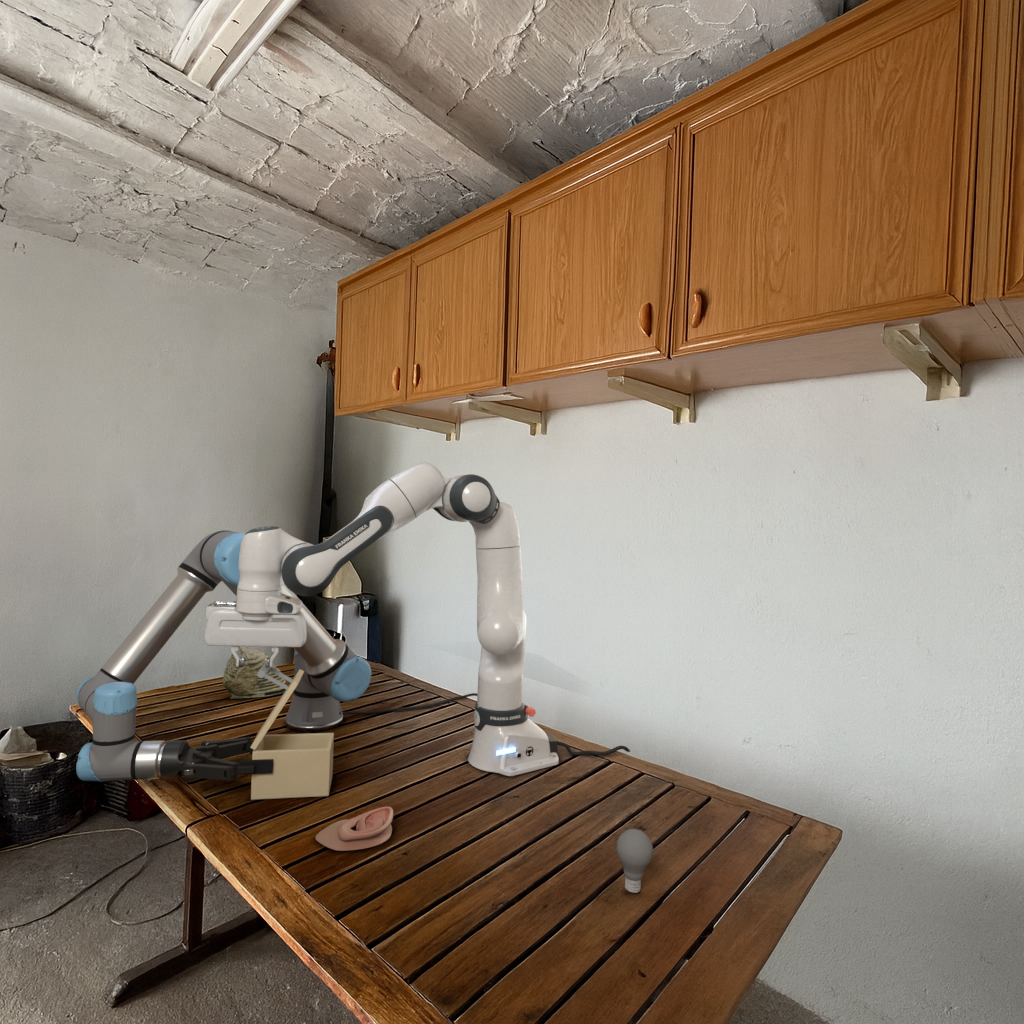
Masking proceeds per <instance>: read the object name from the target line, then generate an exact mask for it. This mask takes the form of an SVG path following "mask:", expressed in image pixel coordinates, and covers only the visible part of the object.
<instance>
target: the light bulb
mask: <svg viewBox="0 0 1024 1024" xmlns="http://www.w3.org/2000/svg"><path fill="white" fill-rule="evenodd" d="M615 849H616V854H617V857H618V859H619V861H620V863H621V865H622V867H623V873H624V874H623V875H624V876H625V878H624V888H625V890H627V891H628V892H630V893H634V894H635V893H639V892H640V891H641V889H642V887H641V886H642V879H643V877H644V875H645V871H646V868H647V867H648V866H649V864H650V863H651V861H652V859H653V855H654V847H653V843H652V841H651V838H649V836H648V835H647V834H646V833H645V832H643V831H642V830H641V829H636V828H629V829H627V830H625V831H623V832H622V833H621V834H620V835H619V837H618V839H617V841H616V847H615Z"/></svg>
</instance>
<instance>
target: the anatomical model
mask: <svg viewBox="0 0 1024 1024" xmlns="http://www.w3.org/2000/svg"><path fill="white" fill-rule="evenodd" d="M393 819H394V809H393V808H392V807H391V806H382V807H378V808H375V809H372V810H368V811H365V812H363V813H361V814H358V815H357V816H354V817H351V818H348V819H341V820H338V821H336V822H334V823H331V824H330V825H328V826H326V827H324V828H323V829H321V830H320V831H319V832H318V833H317V834H316V835H315V840H316V841H317V842H318V843H319V844H320V845H322V846H324V847H326V848H328V849H330V850H333V851H336V852H347V851H357V850H364V849H369V848H372V847H376V846H379V845H382V844H383V843H385V842H387V841H388V840H389V839H390V838H391V836H392V832H393V826H392V822H393Z"/></svg>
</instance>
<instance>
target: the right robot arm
mask: <svg viewBox="0 0 1024 1024" xmlns="http://www.w3.org/2000/svg"><path fill="white" fill-rule="evenodd" d="M431 509H433V510H434V511H435V512H436V513H437V514H439V515H440V517H442V518H443V519H446V520H448V521H452V522H460V523H466V522H468V524H470V525H471V527H472V529H473V531H474V536H475V557H476V558H475V559H476V574H477V575H476V576H477V589H476V590H477V591H476V592H477V593H476V633H477V639H478V642H479V644H480V646H481V648H480V657H479V665H478V671H477V672H478V674H477V676H478V677H477V696H476V697H477V698H476V702H475V704H474V713H473V720H474V721H473V722H474V723H473V724H474V733H473V739H472V743H471V747H470V751H469V754H468V757H467V762H468V763H469V764H470V765H471V766H472V767H473V768H475V769H478V770H480V771H484V772H487V773H488V772H489V773H496V774H500V775H503V776H506V777H515V776H519V775H523V774H526V773H531V772H535V771H537V770H542V769H546V768H550V767H553V766H558V765H559V763H560V759H559V755H558V754H557V753H558V747H559V746H561V747H564V748H565V749H566V751H567V753H568V754H569V755H571V756H576V757H577V756H583V755H593V756H607V755H608V756H609V755H610V754H614V753H615V752H617V751H619V750H623V751H625V752H626V753H630V752H631V749H630V748H628V747H627V746H625V745H618V746H615V747H613V748H611V749H609V750H604V751H598V750H597V751H596V750H579V751H573V750H572V749H571V747H570V745H568V744H567V743H565V742H562V741H559V740H557V738H555V736H554V735H553V734H552V733H551V732H550V733H549V732H548V733H546V732H545V730H544V729H542V728H541V727H540V726H539V725H538V724H536V722H534V721H533V720H531V719H530V718H534V717H535V715H536V713H537V712H536V709H535V708H533V707H532V706H529V705H528V704H526V703H524V702H523V687H524V684H523V683H524V667H525V656H526V655H525V654H526V641H527V640H526V639H527V637H526V636H527V623H528V622H527V614H526V611H525V610H524V605H523V603H524V602H523V601H524V600H523V563H522V547H521V536H520V527H519V523H518V518H517V515H516V511H515V509H514V507H512V505H510V504H508V503H506V502H503V501H500V499H499V498H498V496H497V494H496V493H495V490H494V488H493V486H492V485H491V483H490V482H489V481H488V480H487V479H486V478H485V477H483V476H480V475H479V474H473V473H472V474H460V475H457V476H454V477H450V478H447V477H445V476H444V475H443V474H442V472H441V471H440V469H439V468H438V467H436V466H435V464H434V465H433V464H432V463H429V462H424V461H423V462H419V463H417V464H414V465H412V466H410V467H407V468H405V469H404V470H401V471H399V472H398V473H396V474H394V475H393V476H391V477H389V478H388V479H387V480H385V481H383V482H382V483H381V484H379V485H378V486H377V487H376V488H374V489H373V490H372V491H371V492H370V493H369V494H368V495H367V496H366V497H365V499H364V502H363V505H362V507H361V510H360V512H359V514H358V515H357V516H356V517H355V518H354V519H353V520H352V521H351V522H349V523H348V524H347V525H345V526H344V527H342V528H341V529H339V530H338V531H337V532H336V533H334V534H333V535H331V536H330V537H328V538H327V539H325V540H324V541H322V542H320V543H318V544H313V543H310V542H307V541H304V540H302V539H299V538H297V537H295V536H292V535H291V534H290V533H288V532H286V531H285V530H284V529H283V528H281V527H280V526H274V525H273V526H262V527H261V526H260V527H256V528H251V529H250V530H248V531H246V532H245V533H246V534H245V535H244V536H243V538H242V541H241V546H240V553H239V565H238V569H239V573H240V580H239V583H238V586H237V596H236V600H235V601H233V600H230V601H229V600H227V601H223V600H214V601H213V602H211V603H209V604H208V605H207V606H206V608H205V619H206V621H207V622H206V625H205V631H204V637H203V638H204V639H203V641H204V643H205V644H206V645H207V646H210V647H230V648H231V649H230V651H231V654H232V653H233V655H234V657H235V659H236V667H244V666H245V657H241V655H240V653H239V651H238V650H239V649H240V647H257V648H260V647H261V648H262V647H263V648H264V647H266V648H271V652H272V655H271V656H269V658H267V659H266V661H265V663H266V664H265V667H273V665H274V663H275V658H276V656H277V655H278V654H279V652H280V650H281V648H293V647H302V646H303V645H304V644H305V642H306V637H307V630H306V619H305V616H304V614H303V613H302V612H301V611H300V610H301V609H302V603H303V601H302V600H301V599H300V598H299V599H297V598H294V597H291V596H288V595H285V594H282V593H281V588H282V585H283V584H285V585H286V587H287V588H288V589H289V590H290V591H292V592H293V593H294V594H295V595H296V596H302V597H311V596H316V595H319V594H321V593H322V592H324V591H325V590H327V588H329V586H330V585H331V583H332V582H333V580H334V578H335V577H336V576H337V574H338V572H339V571H340V570H341V568H343V566H345V565H346V564H347V563H348V562H350V561H351V560H352V559H354V558H356V556H358V555H359V554H360V553H362V552H363V551H365V550H366V549H367V548H368V547H370V546H371V545H372V544H374V543H376V541H378V540H381V539H382V538H384V537H385V536H387V535H390V534H391V533H393V532H395V531H398V530H400V529H401V528H403V527H405V526H407V525H408V524H410V523H411V522H412V521H414V520H416V519H417V518H418V517H420V516H421V515H422V514H424V513H426V512H427V511H429V510H431ZM529 717H530V718H529Z"/></svg>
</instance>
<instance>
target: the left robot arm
mask: <svg viewBox="0 0 1024 1024" xmlns="http://www.w3.org/2000/svg"><path fill="white" fill-rule="evenodd" d="M246 533H247V532H240V531H239V532H238V531H232V530H229V529H228V530H227V529H224V530H217V531H214V532H211V533H210V534H207V535H205V536H204V537H203V538H202V539H201V540H200V541H198V543H197V544H196V545H195V546H194V547H193V549H192V550H191V551H190V552H189V553H188V554H187V556H186V557H185V558H184V560H182V561H181V563H180V564H179V565H178V567H177V568H176V569H177V575H176V577H174V579H173V580H172V581H171V582H170V584H169V585H168V586H167V588H165V590H164V591H163V592H162V594H161V595H160V596H159V597H158V598H157V599H156V601H155V602H154V603H153V604H152V606H151V607H150V608H149V609H148V610H147V611H146V613H145V614H144V616H143V617H142V618H141V619H140V620H139V622H138V623H137V624H136V625H135V627H134V628H133V629H132V630H131V632H129V634H128V635H127V636H126V638H125V639H124V640H123V641H122V642H121V644H120V645H119V646H118V647H117V649H116V650H115V651H114V652H113V653H112V655H111V656H110V657H109V658H108V660H107V661H106V662H105V663H104V665H103V666H102V667H101V668H100V669H99V670H98V671H97V672H96V673H95V675H93V676H90V677H88V678H86V679H85V680H84V681H82V682H81V683H80V685H79V686H78V687H77V690H76V695H75V696H76V701H77V705H78V706H79V707H80V708H79V709H81V710H82V711H83V712H84V713H86V715H87V716H88V717H89V719H90V720H91V721H92V741H91V742H88V743H85V744H84V745H83V746H82V748H81V749H80V751H79V753H78V754H77V755H78V756H77V761H76V766H75V770H76V771H75V772H76V775H77V777H78V779H79V780H81V781H84V782H101V783H104V782H105V783H106V782H119V781H121V782H122V781H142V780H145V781H146V782H150V781H152V780H159V779H160V778H162V779H163V780H177V779H203V780H216V781H217V780H218V781H236V780H238V779H239V776H240V775H241V776H242V775H252V774H271V773H273V759H261V760H252V759H240V760H239V762H237V761H232V760H227V759H225V758H229V757H230V758H231V757H235V756H238V755H239V756H240V755H245V754H249V755H251V756H252V752H253V750H254V749H252V748H250V747H251V745H252V743H253V742H254V740H252V736H244V737H235V738H227V739H218V740H202V741H201V742H200V745H199V746H196V747H190V746H189V744H190V743H189V742H188V741H187V740H186V739H179V740H174V739H173V740H168V741H166V740H141V741H138V740H136V724H137V723H136V722H137V708H138V707H137V706H138V701H139V700H138V695H137V694H138V693H137V685H135V683H136V681H138V679H139V678H140V677H141V676H142V674H143V672H144V671H146V669H147V668H148V666H149V665H150V664H151V662H152V661H153V660H154V659H155V658H156V656H157V655H158V654H159V652H160V651H161V650H162V649H163V647H164V646H165V645H166V644H167V642H168V641H169V640H170V638H171V637H172V636H173V635H174V634H175V632H176V631H177V630H178V628H179V627H180V626H181V625H182V624H183V622H185V619H186V618H187V617H188V616H189V615H190V613H192V611H193V610H194V609H195V607H196V606H197V604H198V603H199V602H200V601H201V599H202V598H203V597H204V596H205V594H206V593H209V592H213V591H214V590H215V589H216V588H217V586H218V585H219V584H220V583H221V582H222V583H223V584H224V585H225V586H226V587H227V588H228V589H229V590H230V591H231V592H232V593H233V595H235V596H236V597H237V586H238V583H239V580H240V573H239V569H238V565H239V553H240V546H241V541H242V538H243V536H244V535H245V534H246ZM281 593H282V594H285V595H288V596H291V597H294V598H297V599H300V598H299V597H298V595H297V594H295V593H293V592H292V591H290V590H289V589H288V588H287V587H286V585H285V584H283V585H282V588H281ZM300 611H301V612H302V613H303V614H304V616H305V619H306V630H307V637H306V642H305V644H304V645H303V646H302V647H292V648H293V649H294V655H293V657H294V672H293V678H294V677H295V676H296V674H297V672H298V671H299V669H301V670H303V671H304V673H303V675H302V677H301V679H300V681H299V684H298V685H297V687H296V688H295V690H294V691H293V695H292V696H293V697H292V699H291V702H290V704H289V708H288V711H287V713H286V715H285V726H286V728H287V729H289V730H291V731H294V732H295V731H296V732H301V733H319V732H325V731H329V730H332V729H335V728H337V727H339V726H340V725H342V723H343V722H344V715H372V714H373V715H374V714H382V713H389V712H397V711H410V710H420V709H426V708H431V707H434V706H438V705H443V704H445V703H449V702H452V701H455V700H460V699H465V698H468V697H477V693H478V692H477V693H476V692H473V693H467V694H463V695H457V696H453V697H450V698H448V699H444V700H441V701H437V702H433V703H428V704H423V705H416V706H405V707H392V708H386V709H378V710H369V711H364V710H363V711H361V710H360V711H357V710H353V711H352V710H351V711H343V709H342V706H341V702H343V703H350V702H353V701H357V700H358V699H359V698H360V697H361V696H362V695H364V693H366V691H367V689H368V688H369V686H370V683H371V677H372V668H371V665H370V664H369V662H368V661H367V660H366V659H365V658H363V657H362V656H357V654H356V653H354V651H353V650H352V649H351V648H350V647H349V646H348V645H347V644H346V642H345V641H344V640H343V639H340V638H334V637H333V636H331V634H330V633H329V631H327V629H325V627H324V626H323V625H322V624H321V623H320V621H318V619H317V618H316V617H315V616H314V615H313V613H312V612H311V611H310V610H309V609H308V607H307V606H306V605H305V604H304V603H303V602H302V609H301V610H300Z"/></svg>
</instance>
